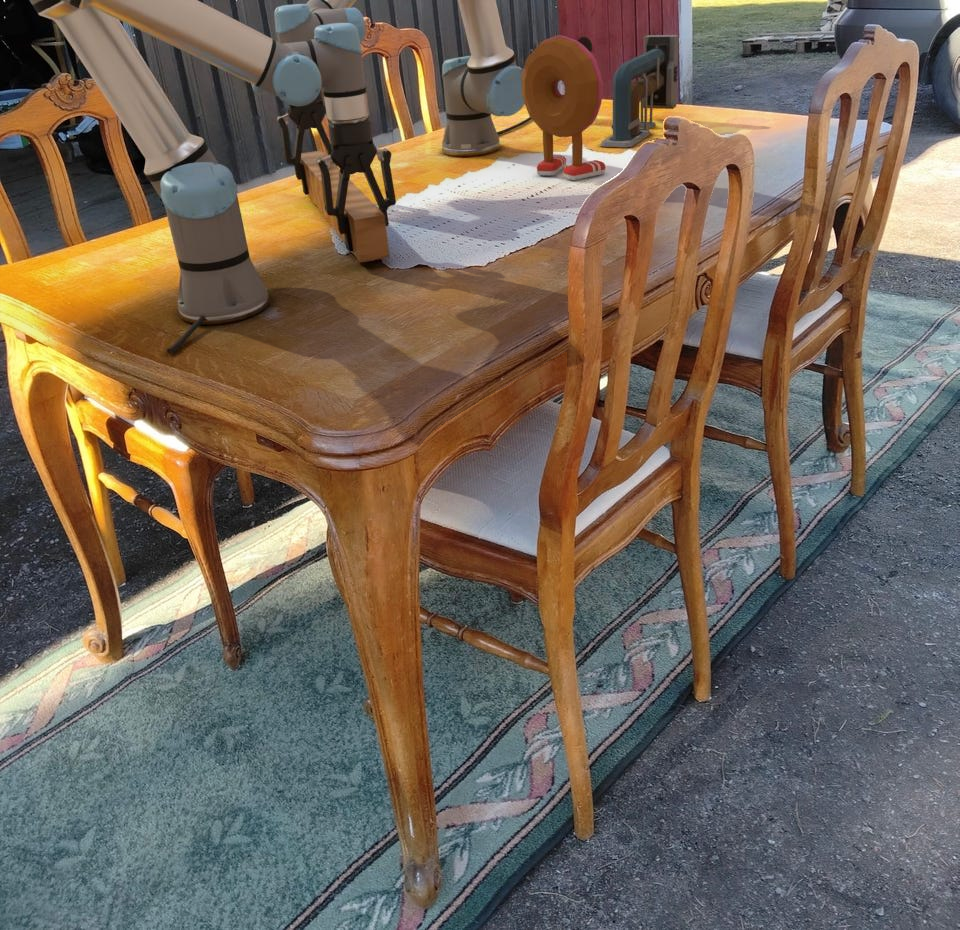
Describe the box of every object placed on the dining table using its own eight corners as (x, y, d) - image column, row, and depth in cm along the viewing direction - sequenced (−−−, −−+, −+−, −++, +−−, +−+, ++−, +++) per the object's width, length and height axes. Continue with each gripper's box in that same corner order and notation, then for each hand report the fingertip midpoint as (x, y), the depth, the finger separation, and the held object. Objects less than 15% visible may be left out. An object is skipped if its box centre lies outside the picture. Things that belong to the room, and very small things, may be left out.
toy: (617, 173, 223) (617, 32, 207) (590, 184, 216) (588, 39, 201) (546, 163, 236) (541, 30, 220) (519, 173, 230) (511, 36, 214)
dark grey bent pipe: (630, 147, 243) (630, 56, 233) (598, 146, 247) (597, 56, 236) (676, 118, 269) (678, 35, 258) (646, 117, 273) (647, 35, 262)
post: (389, 257, 178) (384, 214, 174) (360, 262, 177) (354, 219, 173) (326, 185, 227) (321, 150, 223) (302, 188, 226) (297, 153, 222)
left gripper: (394, 108, 176) (408, 233, 188) (293, 123, 172) (313, 249, 184) (404, 115, 170) (418, 243, 182) (300, 130, 166) (321, 261, 177)
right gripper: (341, 75, 214) (355, 181, 226) (257, 86, 210) (276, 193, 222) (348, 80, 208) (363, 188, 220) (262, 91, 204) (281, 201, 215)
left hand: (366, 246), depth 183 cm, fingers closed on post, 6 cm apart
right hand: (319, 190), depth 221 cm, fingers closed on post, 6 cm apart
